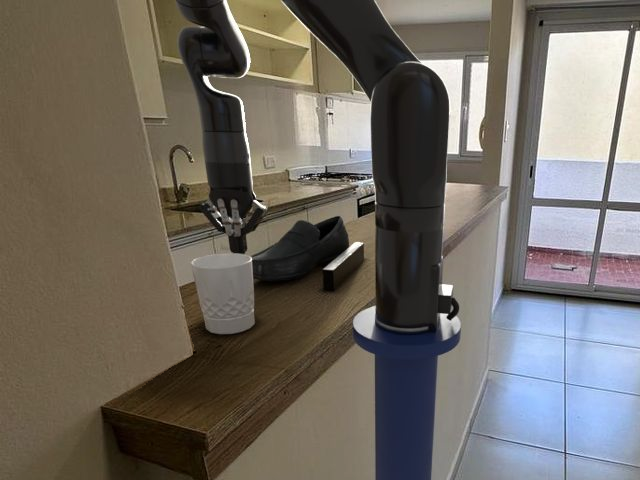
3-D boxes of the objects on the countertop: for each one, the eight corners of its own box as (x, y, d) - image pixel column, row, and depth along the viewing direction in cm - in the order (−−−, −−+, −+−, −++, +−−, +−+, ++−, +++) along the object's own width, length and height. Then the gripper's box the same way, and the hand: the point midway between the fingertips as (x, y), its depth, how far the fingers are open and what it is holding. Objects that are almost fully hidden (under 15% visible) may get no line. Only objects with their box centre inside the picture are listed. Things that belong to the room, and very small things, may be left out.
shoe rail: (364, 259, 102) (363, 242, 100) (334, 291, 82) (333, 270, 80) (355, 259, 102) (355, 242, 100) (323, 290, 82) (322, 269, 80)
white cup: (263, 314, 70) (256, 252, 67) (253, 335, 63) (245, 267, 59) (210, 315, 69) (200, 252, 65) (194, 337, 62) (182, 268, 58)
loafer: (231, 286, 82) (224, 231, 78) (317, 251, 107) (314, 208, 103) (278, 295, 79) (273, 237, 75) (355, 256, 104) (354, 212, 100)
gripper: (179, 158, 76) (195, 257, 83) (253, 162, 75) (263, 262, 81) (204, 156, 83) (217, 247, 90) (272, 159, 82) (280, 252, 88)
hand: (239, 254), depth 86 cm, fingers closed
